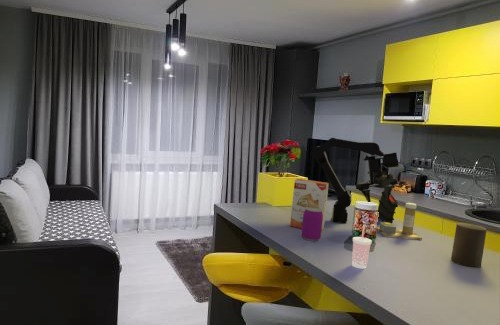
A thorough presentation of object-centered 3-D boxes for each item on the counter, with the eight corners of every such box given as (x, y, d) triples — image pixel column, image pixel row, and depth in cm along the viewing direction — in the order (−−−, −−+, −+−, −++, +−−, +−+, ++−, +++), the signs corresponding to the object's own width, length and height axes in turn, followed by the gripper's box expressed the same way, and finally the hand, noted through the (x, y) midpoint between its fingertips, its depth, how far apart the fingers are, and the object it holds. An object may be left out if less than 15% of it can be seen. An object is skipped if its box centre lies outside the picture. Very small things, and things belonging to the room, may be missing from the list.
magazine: (379, 213, 212) (389, 190, 205) (390, 229, 201) (400, 206, 193) (373, 212, 211) (382, 189, 204) (383, 229, 200) (393, 205, 193)
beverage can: (298, 238, 157) (301, 208, 155) (304, 234, 163) (307, 205, 162) (316, 242, 153) (320, 212, 152) (323, 238, 160) (326, 209, 159)
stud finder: (383, 232, 173) (384, 225, 173) (379, 228, 180) (380, 221, 180) (395, 233, 173) (396, 226, 173) (390, 229, 180) (391, 222, 180)
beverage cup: (365, 271, 127) (370, 228, 125) (347, 266, 130) (351, 224, 129) (371, 266, 132) (375, 224, 131) (352, 261, 135) (357, 221, 134)
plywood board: (384, 236, 171) (384, 234, 171) (376, 229, 183) (376, 227, 183) (421, 240, 170) (422, 237, 170) (411, 232, 182) (411, 230, 182)
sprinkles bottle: (404, 231, 179) (408, 201, 178) (414, 233, 176) (418, 204, 175) (400, 232, 176) (403, 202, 175) (410, 235, 173) (414, 204, 172)
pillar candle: (470, 268, 138) (476, 226, 136) (445, 259, 146) (451, 219, 145) (487, 266, 142) (493, 225, 141) (461, 257, 151) (467, 218, 149)
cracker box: (289, 226, 174) (294, 179, 172) (293, 223, 180) (297, 178, 177) (321, 232, 169) (326, 183, 167) (324, 229, 174) (329, 182, 172)
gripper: (365, 172, 175) (369, 207, 176) (403, 167, 179) (406, 201, 180) (353, 171, 186) (357, 204, 187) (389, 166, 190) (392, 198, 191)
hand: (378, 202), depth 186 cm, fingers open, 9 cm apart
